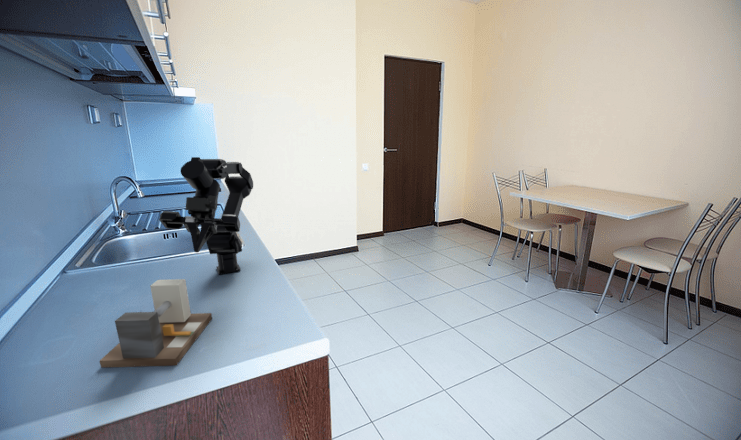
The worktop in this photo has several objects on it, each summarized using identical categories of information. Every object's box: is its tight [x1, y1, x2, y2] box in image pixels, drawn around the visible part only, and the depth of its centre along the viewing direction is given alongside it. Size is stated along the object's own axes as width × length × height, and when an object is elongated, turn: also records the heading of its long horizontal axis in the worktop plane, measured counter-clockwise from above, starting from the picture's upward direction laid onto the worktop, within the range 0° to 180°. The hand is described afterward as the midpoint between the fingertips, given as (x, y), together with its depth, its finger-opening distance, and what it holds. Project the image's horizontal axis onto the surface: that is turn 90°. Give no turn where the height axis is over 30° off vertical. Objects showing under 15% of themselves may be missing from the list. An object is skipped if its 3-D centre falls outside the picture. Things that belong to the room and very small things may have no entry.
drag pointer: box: [162, 324, 191, 336], centre depth 71 cm, size 1×5×2 cm, turn 92°
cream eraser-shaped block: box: [150, 278, 192, 323], centre depth 74 cm, size 7×6×9 cm
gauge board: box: [99, 311, 213, 369], centre depth 71 cm, size 16×14×10 cm
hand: (196, 251), depth 87 cm, fingers closed
